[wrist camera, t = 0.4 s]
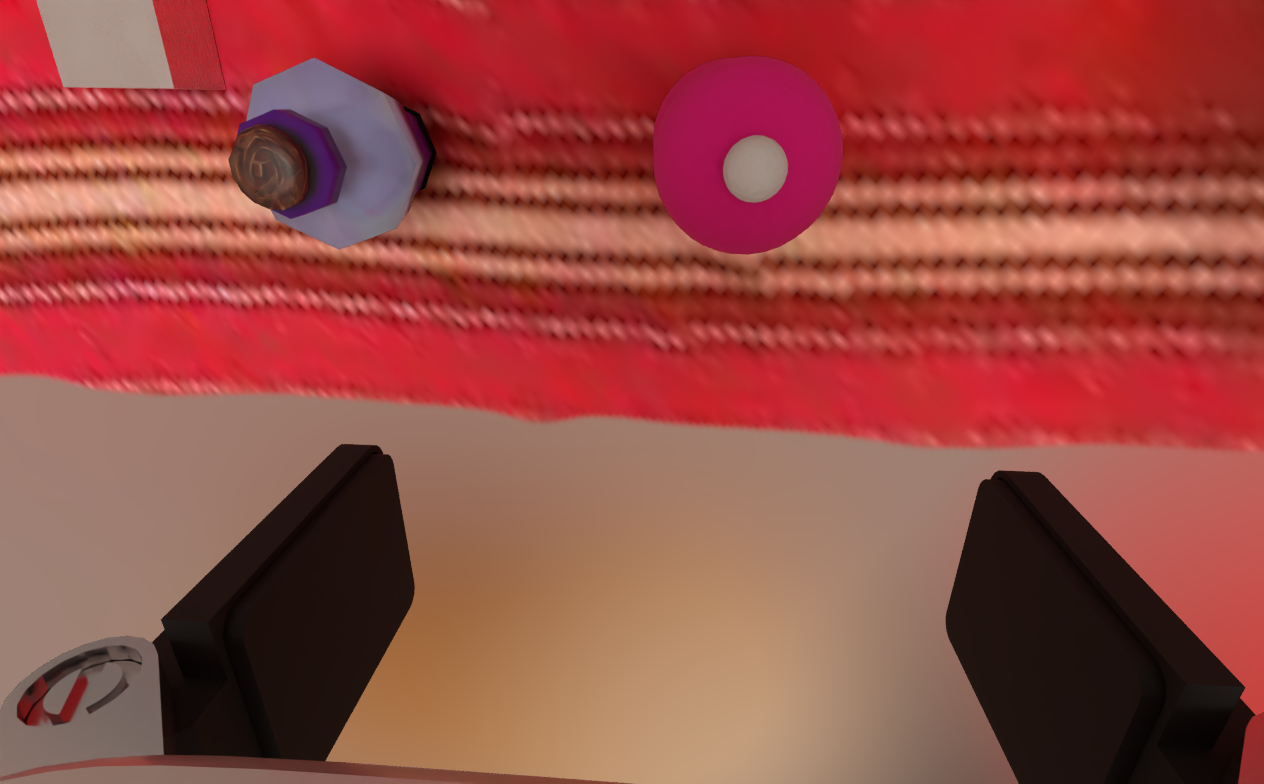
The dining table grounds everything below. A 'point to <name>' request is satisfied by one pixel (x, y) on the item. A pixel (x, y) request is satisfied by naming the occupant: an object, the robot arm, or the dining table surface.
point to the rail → (133, 44)
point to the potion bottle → (331, 154)
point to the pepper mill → (746, 153)
